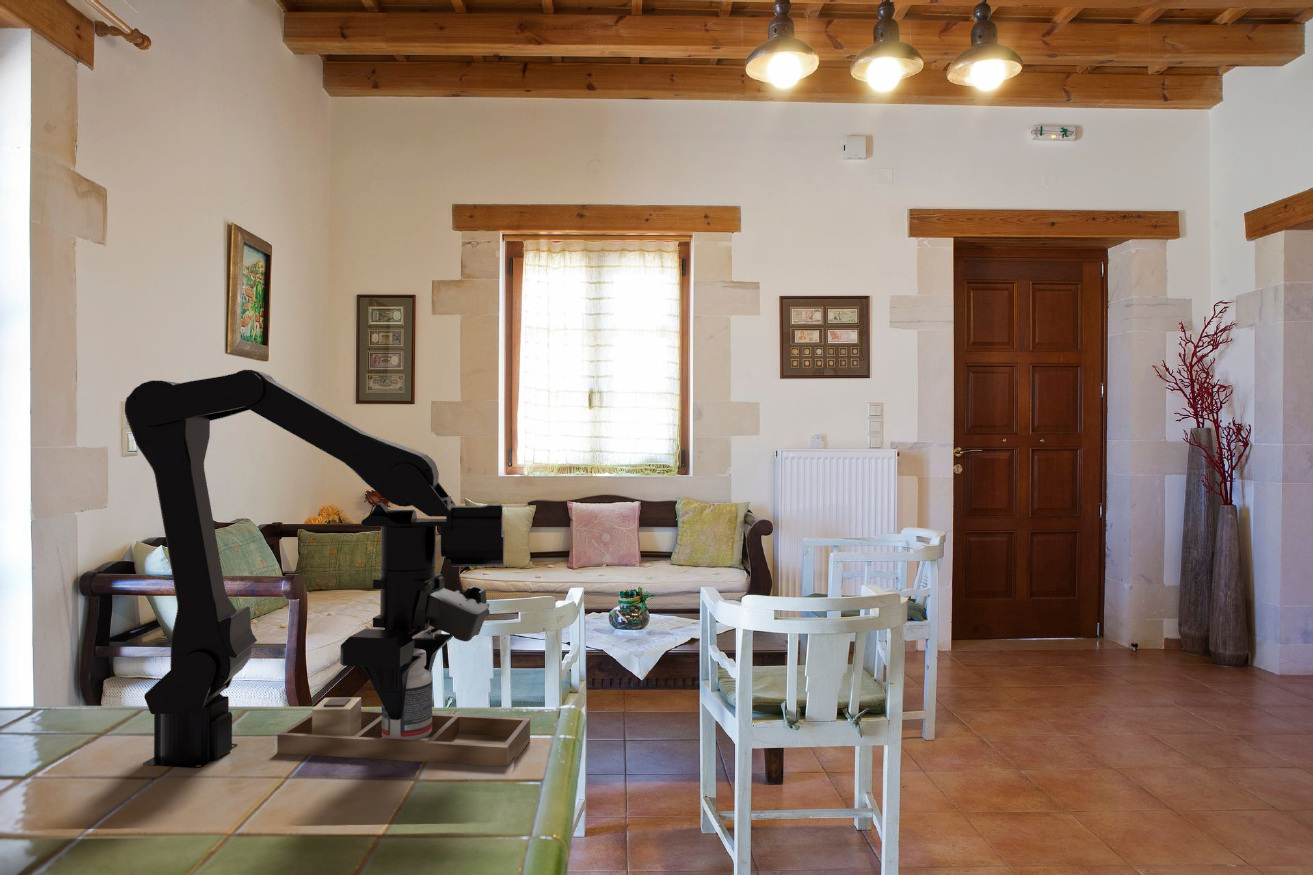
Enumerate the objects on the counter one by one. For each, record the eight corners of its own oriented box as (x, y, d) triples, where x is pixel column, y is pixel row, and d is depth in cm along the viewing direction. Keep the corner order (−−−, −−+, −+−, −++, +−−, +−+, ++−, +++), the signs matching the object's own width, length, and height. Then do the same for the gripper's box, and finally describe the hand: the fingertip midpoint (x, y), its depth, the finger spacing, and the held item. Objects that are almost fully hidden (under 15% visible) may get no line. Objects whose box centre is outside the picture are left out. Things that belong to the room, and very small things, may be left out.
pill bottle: (440, 727, 93) (441, 648, 93) (417, 745, 88) (418, 660, 88) (396, 723, 94) (397, 645, 94) (371, 740, 89) (372, 657, 89)
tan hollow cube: (311, 746, 90) (312, 707, 90) (324, 733, 94) (325, 695, 94) (349, 746, 90) (350, 707, 90) (361, 732, 94) (361, 695, 94)
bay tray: (277, 757, 88) (277, 734, 88) (320, 729, 97) (320, 707, 97) (506, 771, 85) (507, 747, 85) (530, 740, 94) (530, 718, 94)
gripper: (447, 585, 81) (446, 747, 81) (506, 556, 99) (505, 688, 99) (338, 581, 82) (336, 740, 82) (416, 553, 100) (414, 683, 101)
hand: (406, 710), depth 91 cm, fingers closed on pill bottle, 5 cm apart
